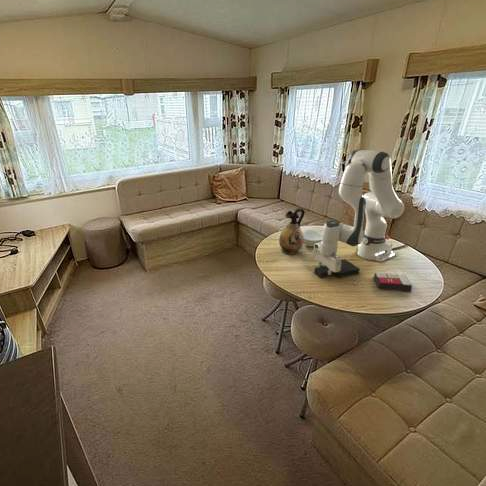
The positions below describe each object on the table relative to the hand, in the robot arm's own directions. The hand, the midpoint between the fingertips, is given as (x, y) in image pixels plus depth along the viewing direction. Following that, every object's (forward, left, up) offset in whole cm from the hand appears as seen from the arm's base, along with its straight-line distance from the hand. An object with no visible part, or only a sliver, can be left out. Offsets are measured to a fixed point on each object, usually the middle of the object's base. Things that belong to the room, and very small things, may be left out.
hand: (324, 271), depth 169 cm
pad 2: (-12, 0, -2) cm, 12 cm away
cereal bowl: (-16, -35, -2) cm, 39 cm away
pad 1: (-2, 0, -2) cm, 3 cm away
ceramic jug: (+2, -31, -2) cm, 31 cm away
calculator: (-27, +21, -2) cm, 34 cm away
